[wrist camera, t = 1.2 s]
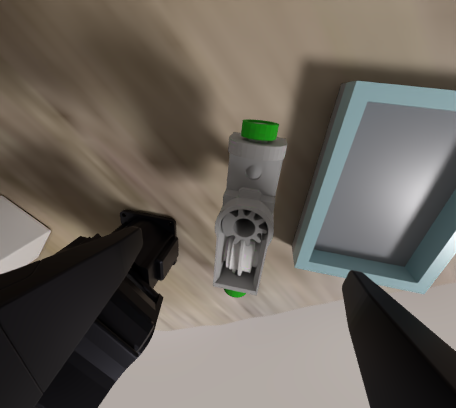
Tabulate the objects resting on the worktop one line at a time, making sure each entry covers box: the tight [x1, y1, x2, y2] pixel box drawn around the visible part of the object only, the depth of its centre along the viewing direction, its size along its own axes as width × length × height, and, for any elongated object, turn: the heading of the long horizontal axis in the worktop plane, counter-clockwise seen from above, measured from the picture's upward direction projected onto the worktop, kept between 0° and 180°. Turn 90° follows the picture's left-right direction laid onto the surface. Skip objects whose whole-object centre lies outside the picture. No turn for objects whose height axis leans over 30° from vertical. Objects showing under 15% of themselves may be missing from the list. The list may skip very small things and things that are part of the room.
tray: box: [292, 81, 456, 294], centre depth 17 cm, size 11×15×3 cm
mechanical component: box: [213, 120, 287, 297], centre depth 15 cm, size 3×10×10 cm, turn 175°
